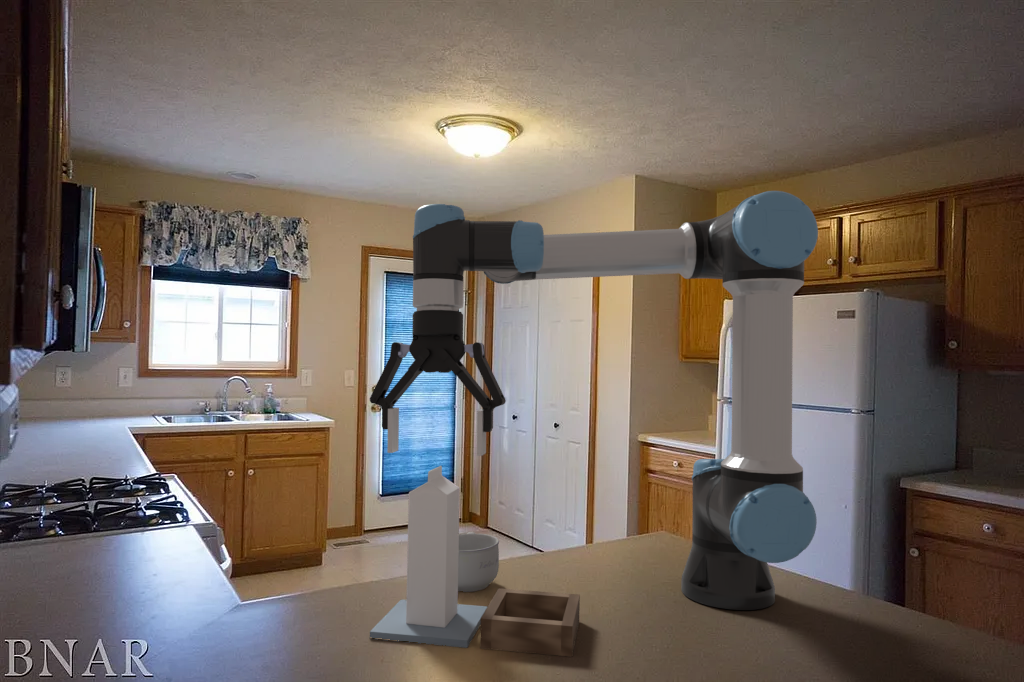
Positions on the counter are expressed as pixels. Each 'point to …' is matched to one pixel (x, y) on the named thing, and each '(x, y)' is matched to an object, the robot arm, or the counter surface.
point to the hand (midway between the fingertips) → (436, 453)
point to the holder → (531, 622)
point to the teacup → (477, 561)
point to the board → (452, 635)
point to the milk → (433, 552)
